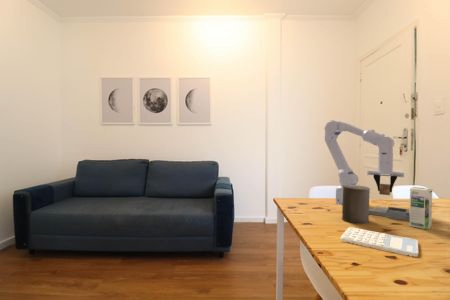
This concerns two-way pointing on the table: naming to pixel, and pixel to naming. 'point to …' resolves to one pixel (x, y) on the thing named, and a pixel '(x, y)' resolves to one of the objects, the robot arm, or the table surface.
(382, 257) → the table surface
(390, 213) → the rail
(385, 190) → the walnut block
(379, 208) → the rubber pad
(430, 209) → the syrup box
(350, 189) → the pillar candle
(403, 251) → the calculator
